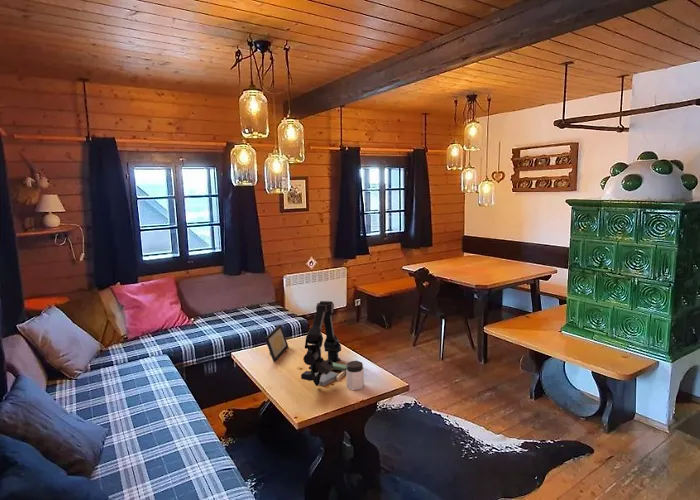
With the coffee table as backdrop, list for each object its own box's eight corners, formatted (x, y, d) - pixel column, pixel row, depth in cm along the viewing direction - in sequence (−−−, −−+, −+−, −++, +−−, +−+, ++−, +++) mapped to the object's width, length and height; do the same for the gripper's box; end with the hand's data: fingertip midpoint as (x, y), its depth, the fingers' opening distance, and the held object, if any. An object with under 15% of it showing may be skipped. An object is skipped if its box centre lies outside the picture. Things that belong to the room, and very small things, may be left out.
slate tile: (330, 375, 235) (330, 371, 234) (338, 378, 231) (338, 373, 231) (314, 383, 226) (314, 379, 225) (323, 387, 222) (323, 382, 222)
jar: (348, 391, 215) (347, 368, 213) (345, 384, 223) (344, 362, 221) (366, 388, 217) (365, 366, 215) (362, 381, 225) (361, 359, 223)
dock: (328, 367, 244) (327, 360, 244) (353, 372, 236) (352, 365, 236) (315, 376, 234) (315, 369, 233) (341, 381, 226) (341, 375, 225)
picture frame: (275, 361, 254) (270, 337, 252) (261, 362, 256) (256, 338, 254) (288, 346, 277) (284, 324, 274) (275, 347, 278) (271, 325, 276)
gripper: (318, 366, 206) (320, 397, 209) (338, 352, 222) (340, 381, 225) (299, 362, 211) (301, 392, 214) (320, 348, 227) (322, 376, 230)
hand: (317, 385), depth 220 cm, fingers closed
